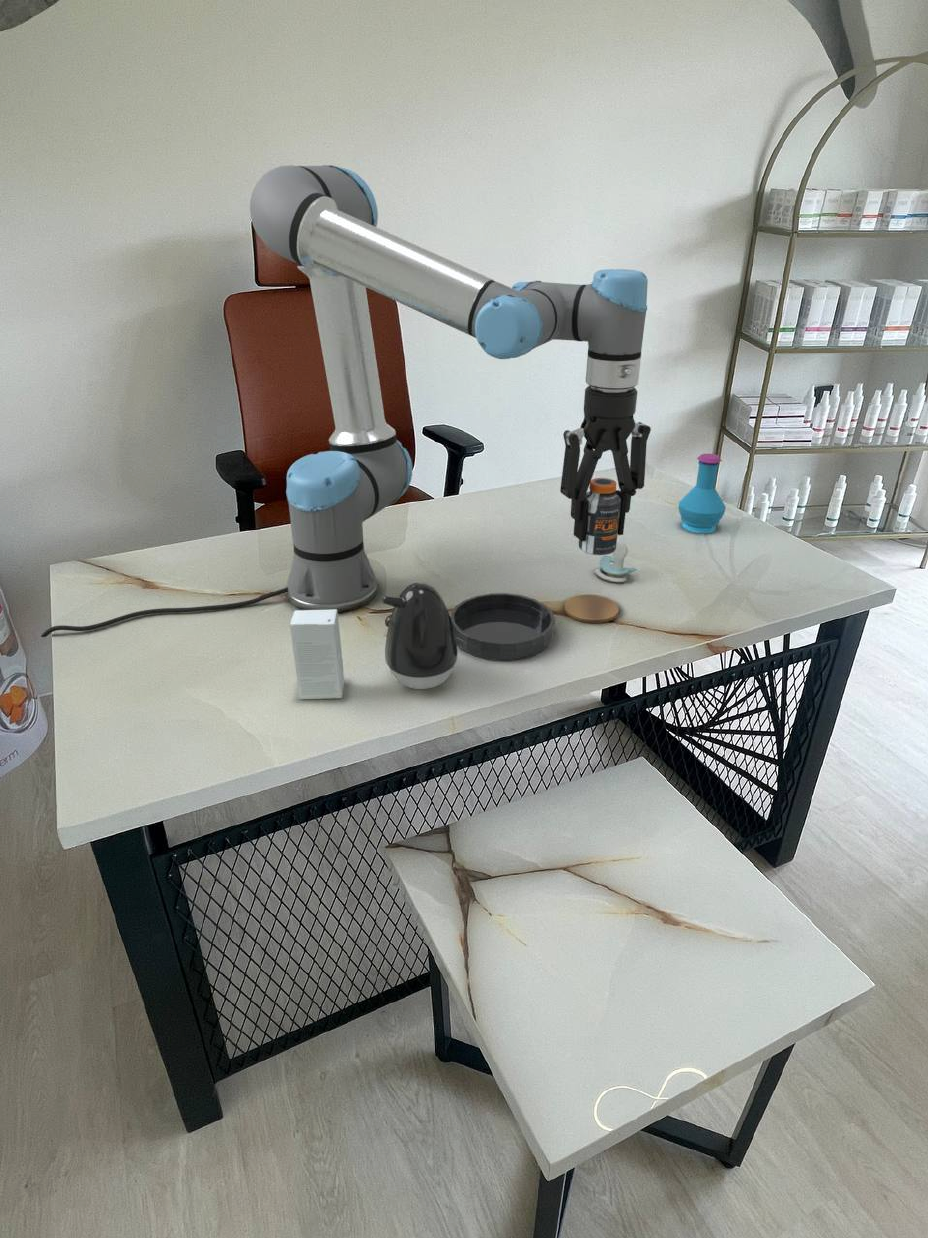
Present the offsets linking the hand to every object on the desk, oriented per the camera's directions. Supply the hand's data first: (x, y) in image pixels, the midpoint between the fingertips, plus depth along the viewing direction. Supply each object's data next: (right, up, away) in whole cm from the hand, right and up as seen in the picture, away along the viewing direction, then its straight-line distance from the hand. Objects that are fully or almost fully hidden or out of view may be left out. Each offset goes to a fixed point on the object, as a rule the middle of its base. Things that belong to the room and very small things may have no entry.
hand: (598, 534), depth 127 cm
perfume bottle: (+27, +5, +38) cm, 47 cm away
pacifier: (+6, -6, +18) cm, 20 cm away
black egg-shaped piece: (-27, -22, -12) cm, 37 cm away
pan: (-15, -16, 0) cm, 22 cm away
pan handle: (-28, -15, -1) cm, 32 cm away
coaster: (0, -12, +7) cm, 14 cm away
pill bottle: (0, -2, +1) cm, 3 cm away
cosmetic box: (-41, -24, -14) cm, 50 cm away
